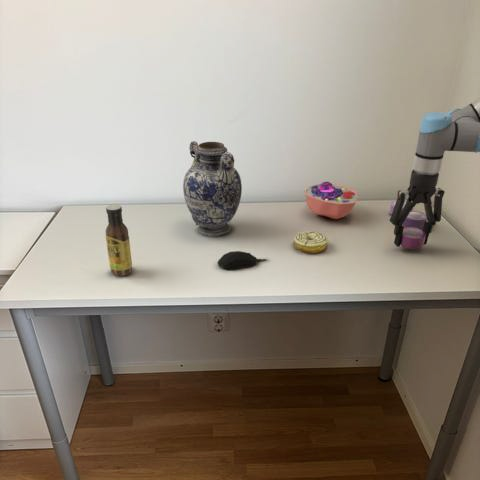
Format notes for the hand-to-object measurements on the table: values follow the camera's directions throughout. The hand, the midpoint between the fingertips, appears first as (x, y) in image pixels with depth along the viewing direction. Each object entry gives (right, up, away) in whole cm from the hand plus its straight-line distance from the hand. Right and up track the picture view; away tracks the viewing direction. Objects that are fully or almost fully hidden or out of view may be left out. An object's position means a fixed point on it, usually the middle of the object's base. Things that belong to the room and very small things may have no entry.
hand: (410, 243), depth 159 cm
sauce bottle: (-87, -10, -11) cm, 88 cm away
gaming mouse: (-52, -7, -7) cm, 53 cm away
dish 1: (+4, +14, +24) cm, 28 cm away
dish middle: (+6, +8, +15) cm, 19 cm away
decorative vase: (-61, +6, +13) cm, 63 cm away
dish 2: (0, 0, 0) cm, 0 cm away
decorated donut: (-31, -1, +2) cm, 31 cm away
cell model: (-21, +13, +23) cm, 34 cm away
